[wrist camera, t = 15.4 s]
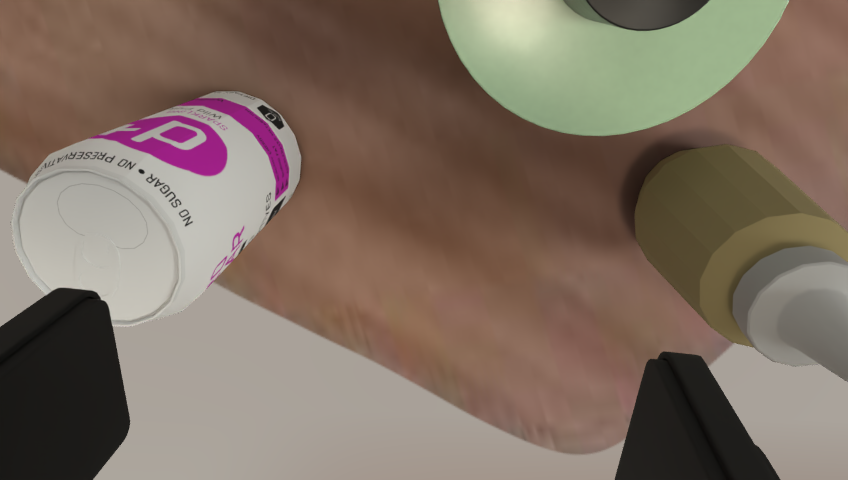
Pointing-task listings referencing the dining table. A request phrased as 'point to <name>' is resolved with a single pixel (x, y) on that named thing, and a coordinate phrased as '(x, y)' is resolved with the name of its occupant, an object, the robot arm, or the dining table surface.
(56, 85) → the dining table surface
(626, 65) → the lid
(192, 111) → the supplement can
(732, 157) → the squeeze bottle
